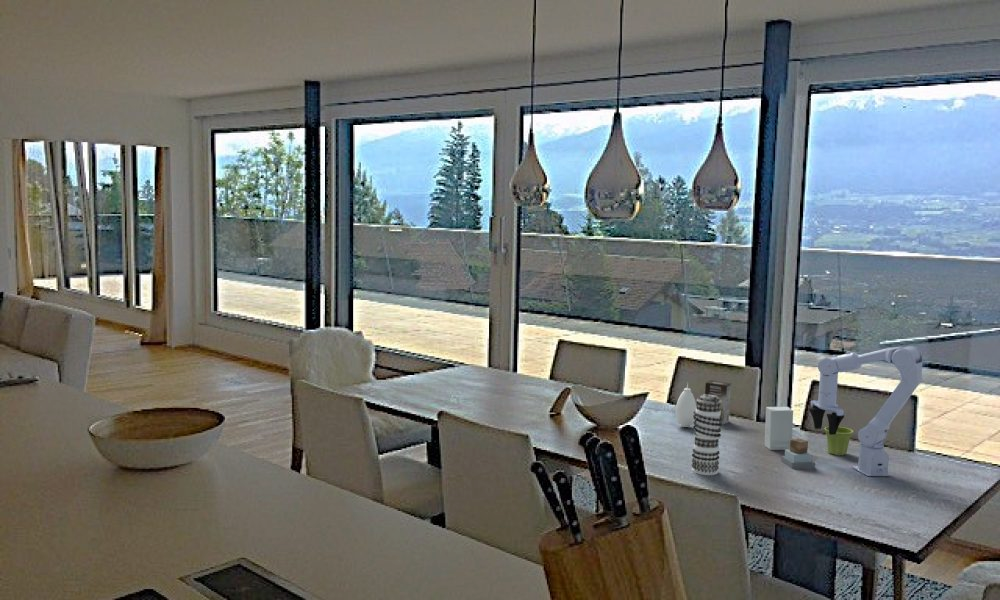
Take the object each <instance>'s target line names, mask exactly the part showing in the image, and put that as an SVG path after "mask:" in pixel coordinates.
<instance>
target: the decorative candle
mask: <svg viewBox="0 0 1000 600" xmlns="http://www.w3.org/2000/svg"><path fill="white" fill-rule="evenodd" d="M695 401H696V407H697V408H696V411H695V412H696V413H695V412H694V414H695V415H693V418H694V419H695V421H694V422H693V426H692V427H693V430H694V431H693V432H692V433H693V436H694V443H693V448H692V452H693V453H692V458H691V462H692V463H691V472H693V473H695V474H697V475H702V476H714V475H715V476H716V475H717V474H718V473H719V471H718V470H719V464H720V461H719V459H720V456H719V455H720V448H719V439H720V438H721V436H722V434H721V432H722V429H721V428H720V427H721V426H722V425H723V424H722V423H720V421H722V418H721V417H720V415H721V410H720V407H721V402H722V401H721V400H720V399H719V398H718V396H716V395H711V394H705V393H704V394H700V395H699V396H698V397H697V398H695Z"/></svg>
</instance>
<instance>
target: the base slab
mask: <svg viewBox="0 0 1000 600" xmlns="http://www.w3.org/2000/svg"><path fill="white" fill-rule="evenodd" d="M780 462H781V463H783V464H784V465H785V466H788V467H789V468H790V469H816V467H815V466H816V462H814V461H813V460H812V462H792V461H791V460H789V459H787V458H786V457H785V455H782V456H781V460H780Z"/></svg>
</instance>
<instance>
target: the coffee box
mask: <svg viewBox="0 0 1000 600" xmlns="http://www.w3.org/2000/svg"><path fill="white" fill-rule="evenodd" d="M704 387H705V388H704V389H705V391H704V394H711V395H716V396H718V398H719V399H720V400H721V401H722V402H721V407H720V410H721V415H720V417H721V418H722V421H720V423H722V425H725V423H726V424H727V423H729V422H728V421H730V410H731V409H730V407H731V391H732V382H725V381H717V380H713V379H710V380H708V381H706V382H705V386H704Z"/></svg>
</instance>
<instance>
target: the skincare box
mask: <svg viewBox="0 0 1000 600" xmlns="http://www.w3.org/2000/svg"><path fill="white" fill-rule="evenodd" d="M793 422H794V410H793V409H791V408H790V407H789V406H766V407H765V428H764V446H765V447H766V448H767V449H768V448H769V449H770V450H769V449H768V450H769V451H785V450H790V440H791V439H793V426H794V423H793Z"/></svg>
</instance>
